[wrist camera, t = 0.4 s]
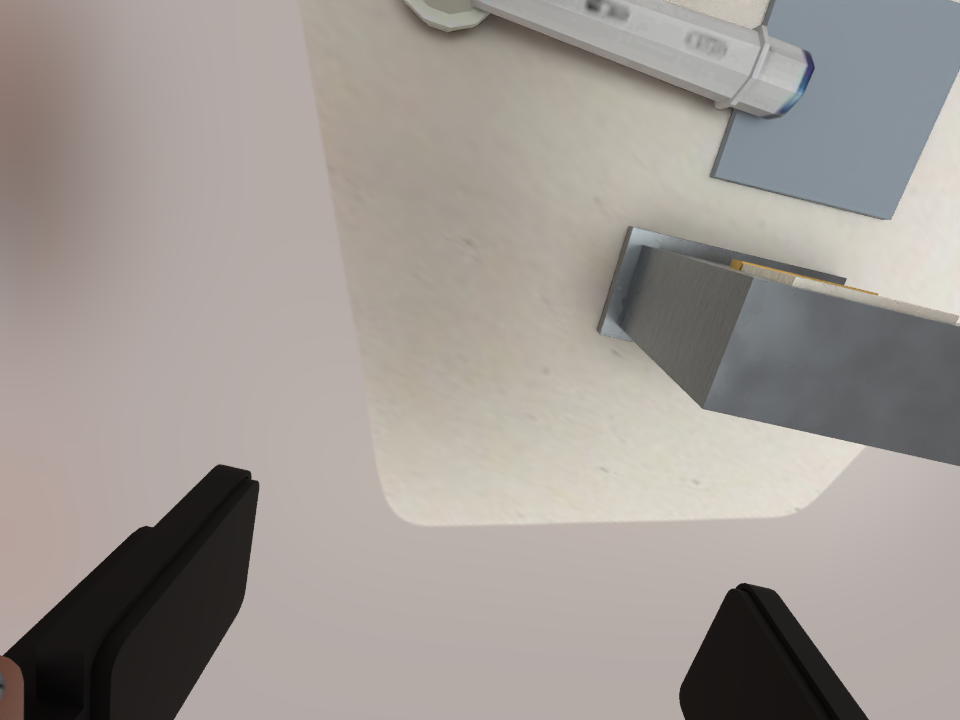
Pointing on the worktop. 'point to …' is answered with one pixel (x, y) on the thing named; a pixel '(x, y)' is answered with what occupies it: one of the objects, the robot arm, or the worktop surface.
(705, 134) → the worktop surface
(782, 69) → the white elongated piece
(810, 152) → the slate mat
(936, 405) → the mounted unit
